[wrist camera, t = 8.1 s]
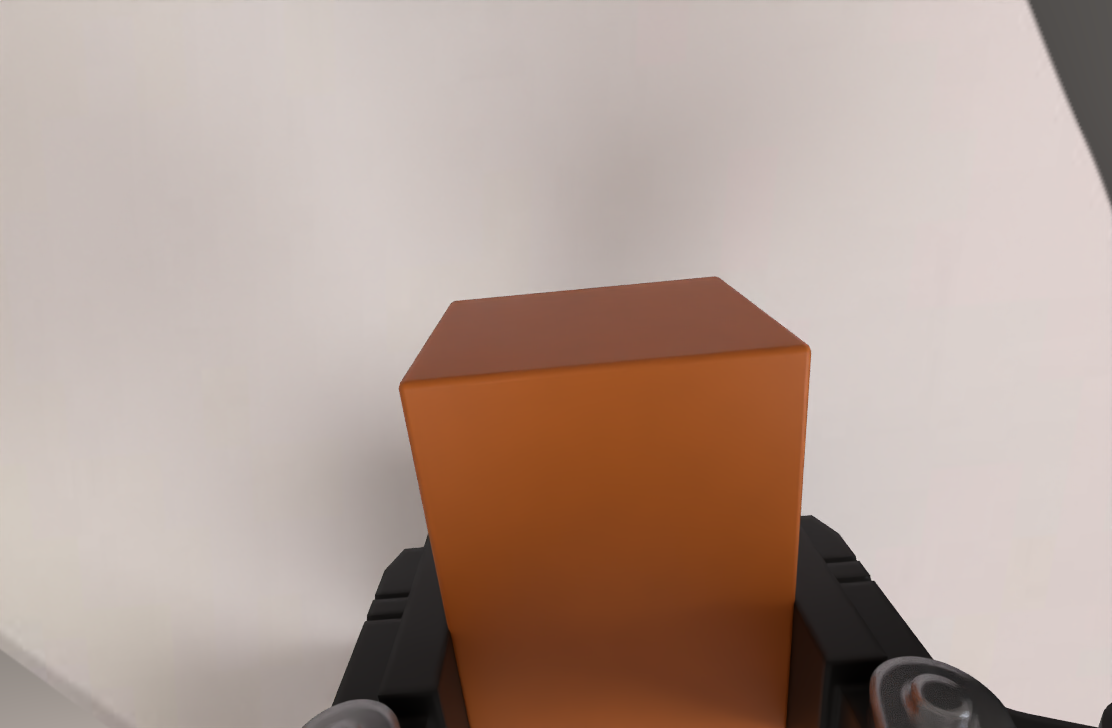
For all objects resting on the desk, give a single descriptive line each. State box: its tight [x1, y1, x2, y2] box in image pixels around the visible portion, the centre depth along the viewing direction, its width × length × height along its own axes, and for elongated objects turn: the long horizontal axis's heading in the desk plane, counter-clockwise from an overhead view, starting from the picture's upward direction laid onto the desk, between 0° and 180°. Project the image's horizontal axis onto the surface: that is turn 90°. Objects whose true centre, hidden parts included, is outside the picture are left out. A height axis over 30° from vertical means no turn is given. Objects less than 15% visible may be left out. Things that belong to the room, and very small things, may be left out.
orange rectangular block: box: [399, 277, 811, 728], centre depth 9 cm, size 9×4×4 cm, turn 6°
